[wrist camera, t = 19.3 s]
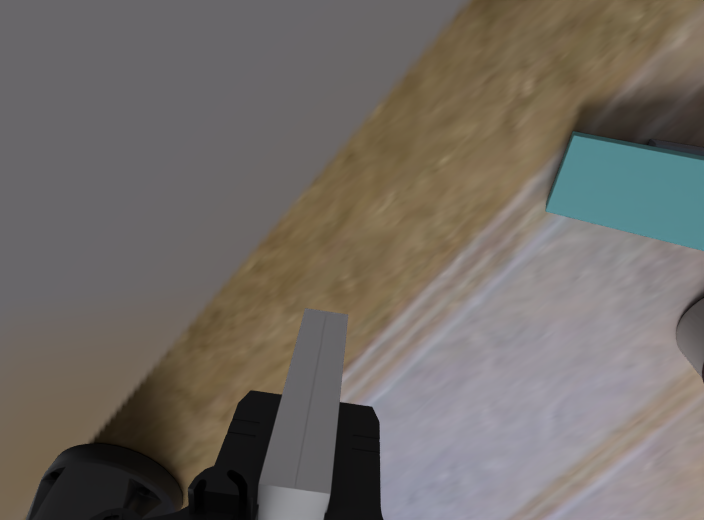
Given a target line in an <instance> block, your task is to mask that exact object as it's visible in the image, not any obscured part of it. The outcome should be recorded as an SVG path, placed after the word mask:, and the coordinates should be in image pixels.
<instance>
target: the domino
mask: <svg viewBox="0 0 704 520" xmlns="http://www.w3.org/2000/svg"><path fill="white" fill-rule="evenodd" d="M546 212H550V213H554V214H558V215H562V216H566V217H570V218H574V219H578V220H582V221H586V222H590V223H594V224H598V225H602V226H606V227H610V228H614V229H618V230H622V231H626V232H630V233H634V234H638V235H642V236H646V237H650V238H654V239H658V240H662V241H666V242H670V243H674V244H678V245H682V246H686V247H690V248H694V249H698V250H702V251H704V156H700V155H695V154H689V153H684V152H679V151H674V150H668V149H663V148H658V147H653V146H648V145H642V144H637V143H632V142H627V141H621V140H616V139H611V138H606V137H601V136H595V135H590V134H585V133H580V132H574V131H573V132H572V135H571V138H570V140H569V143H568V146H567V149H566V151H565V154H564V157H563V159H562V162H561V165H560V167H559V170H558V173H557V175H556V178H555V181H554V184H553V186H552V189H551V192H550V194H549V197H548V200H547V202H546Z"/></svg>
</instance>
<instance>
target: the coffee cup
mask: <svg viewBox="0 0 704 520" xmlns="http://www.w3.org/2000/svg"><path fill="white" fill-rule="evenodd" d="M676 340H677V345H678V347H679V349H680V351H681V352H682V353H683V355H684V356H685V357H686V358H687V360H688V361H689V362H690V363H691V365H692V366H693V367H694V368H695V370H696V371H697V372H698V373H699V375H700V376H701V377H702V379H703V382H704V298H703V299H701V300H700V301H698V302H697V303H696V304H695V305H693V306H692V307H691V308H690V309H689V310H688V311H687V312H686V313H685V314H684V316H683V317H682V319H681V320H680V322H679V324H678V327H677V331H676Z"/></svg>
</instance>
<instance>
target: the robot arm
mask: <svg viewBox="0 0 704 520" xmlns="http://www.w3.org/2000/svg"><path fill="white" fill-rule="evenodd" d="M347 322H348V315H347V314H340V313H334V312H327V311H320V310H314V309H307V308H305V312H304V315H303V319H302V323H301V327H300V330H299V334H298V338H297V342H296V345H295V349H294V353H293V357H292V360H291V364H290V368H289V372H288V375H287V379H286V383H285V387H284V390H283V394H282V395H280V394H273V393H267V392H260V391H253V390H251V391H250V392H249V393H248V394H247V395H246V396H245V397H244V398H243V399H242V400H241V401H240V402H239V403H238V405H237V408H236V411H235V413H234V416H233V419H232V422H231V424H230V426H229V429H228V432H227V435H226V437H225V439H224V442H223V444H222V447H221V450H220V452H219V455H218V457H217V460H216V463H215V465H214V466H212V467H210V468H207V469H205V470H204V471H203V472H201V473H200V474H199V475H197V476H196V477H195V478H194V480H193V481H192V483H191V484H190V486H189V487H188V502H189V506H187V507H185V508H183V509H181V508H182V503H183V497H182V493H181V490H180V488H179V486H178V484H177V482H176V481H175V480H174V478H173V477H172V476H171V475H170V474H169V473H168V472H167V471H166V470H165V469H164V468H162V467H161V466H160V465H158V464H157V463H155V462H154V461H152V460H151V459H149V458H147V457H145V456H143V455H141V454H139V453H136V452H134V451H131V450H128V449H125V448H122V447H118V446H113V445H107V444H83V445H77V446H74V447H71V448H69V449H67V450H65V451H63V452H62V453H61V454H60V455H59V456H58V457H57V458H56V460H55V461H54V462H53V463H52V465H51V466H50V467H49V468H48V470H47V471H46V472H45V474H44V476H43V477H42V479H41V482H40V484H39V487H38V489H37V492H36V495H35V497H34V500H33V502H32V504H31V507H30V510H29V512H28V515H27V517H26V520H383V517H382V513H381V499H380V442H379V440H380V424H379V420H378V418H377V416H376V414H375V412H374V410H373V407H370V406H363V405H356V404H349V403H343V402H340V393H341V383H342V372H343V362H344V352H345V342H346V332H347Z"/></svg>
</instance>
